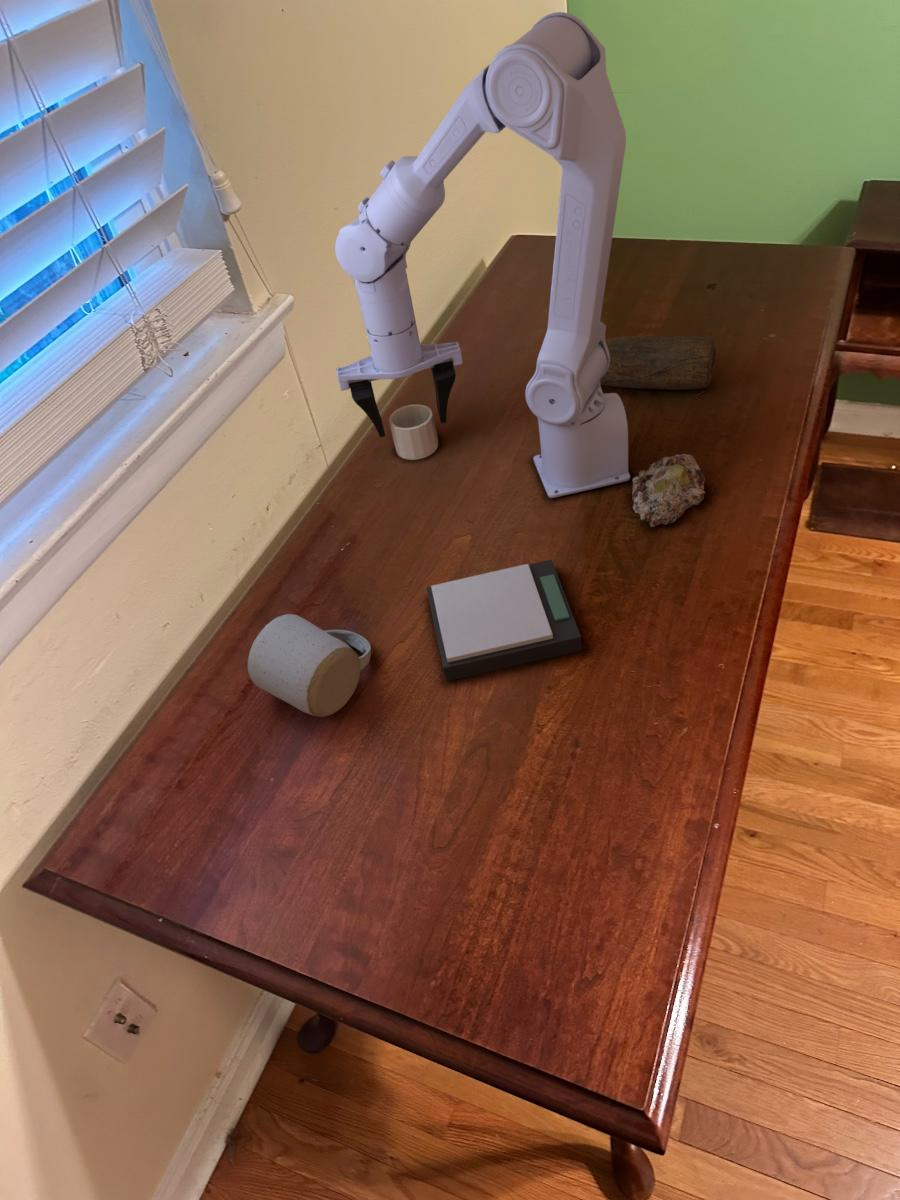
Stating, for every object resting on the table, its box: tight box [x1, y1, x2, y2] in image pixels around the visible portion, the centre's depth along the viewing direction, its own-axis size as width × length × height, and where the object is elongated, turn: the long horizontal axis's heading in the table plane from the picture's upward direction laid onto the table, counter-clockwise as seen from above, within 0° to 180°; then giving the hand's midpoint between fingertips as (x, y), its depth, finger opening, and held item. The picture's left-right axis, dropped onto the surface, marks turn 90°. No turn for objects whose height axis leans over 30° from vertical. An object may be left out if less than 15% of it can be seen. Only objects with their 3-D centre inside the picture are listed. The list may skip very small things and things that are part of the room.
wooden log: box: [600, 335, 717, 391], centre depth 106 cm, size 15×7×7 cm, turn 75°
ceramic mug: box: [247, 613, 372, 718], centre depth 79 cm, size 11×8×8 cm
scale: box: [426, 559, 583, 682], centre depth 83 cm, size 13×11×3 cm
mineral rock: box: [631, 453, 707, 528], centre depth 92 cm, size 11×4×8 cm
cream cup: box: [388, 403, 439, 461], centre depth 105 cm, size 5×5×4 cm
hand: (412, 425), depth 105 cm, fingers open, 7 cm apart
